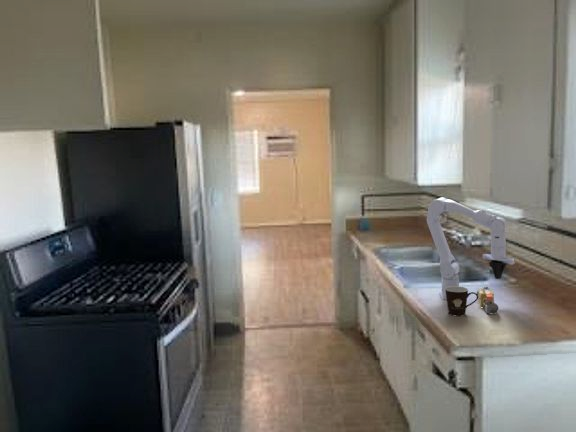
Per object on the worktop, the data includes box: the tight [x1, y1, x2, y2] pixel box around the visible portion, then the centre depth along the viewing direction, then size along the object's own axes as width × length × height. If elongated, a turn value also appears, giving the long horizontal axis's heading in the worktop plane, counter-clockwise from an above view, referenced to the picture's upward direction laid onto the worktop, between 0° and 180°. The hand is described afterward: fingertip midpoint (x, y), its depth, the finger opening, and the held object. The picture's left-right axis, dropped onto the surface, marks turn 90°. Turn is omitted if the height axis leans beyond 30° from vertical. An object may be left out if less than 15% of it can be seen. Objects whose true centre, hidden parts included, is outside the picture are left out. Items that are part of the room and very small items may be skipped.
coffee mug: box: [445, 285, 478, 317], centre depth 204 cm, size 12×9×10 cm
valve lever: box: [482, 286, 493, 301], centre depth 206 cm, size 14×3×2 cm, turn 166°
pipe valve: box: [476, 288, 499, 315], centre depth 210 cm, size 20×5×6 cm, turn 172°
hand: (498, 278), depth 215 cm, fingers closed
